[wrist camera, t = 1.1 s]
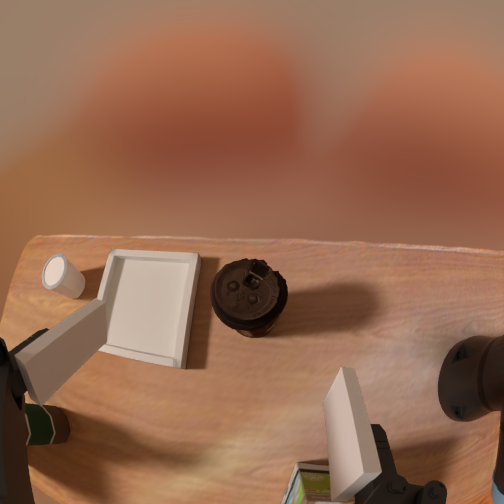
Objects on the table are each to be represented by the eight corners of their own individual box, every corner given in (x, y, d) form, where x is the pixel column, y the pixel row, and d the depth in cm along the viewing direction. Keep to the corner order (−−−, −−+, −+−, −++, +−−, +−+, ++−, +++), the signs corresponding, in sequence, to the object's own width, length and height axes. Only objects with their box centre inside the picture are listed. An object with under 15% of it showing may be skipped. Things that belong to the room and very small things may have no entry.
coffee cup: (273, 284, 42) (274, 243, 31) (291, 333, 39) (300, 311, 27) (219, 300, 42) (199, 265, 30) (234, 351, 38) (218, 337, 26)
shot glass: (58, 294, 44) (36, 281, 37) (72, 265, 46) (52, 249, 40) (78, 307, 42) (55, 294, 36) (93, 275, 45) (72, 259, 39)
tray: (201, 260, 45) (198, 253, 43) (185, 369, 37) (180, 368, 35) (116, 255, 47) (110, 249, 44) (94, 349, 38) (86, 347, 36)
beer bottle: (72, 412, 33) (-38, 401, 12) (71, 449, 29) (-33, 455, 8) (44, 399, 34) (-56, 378, 12) (43, 433, 30) (-54, 426, 9)
